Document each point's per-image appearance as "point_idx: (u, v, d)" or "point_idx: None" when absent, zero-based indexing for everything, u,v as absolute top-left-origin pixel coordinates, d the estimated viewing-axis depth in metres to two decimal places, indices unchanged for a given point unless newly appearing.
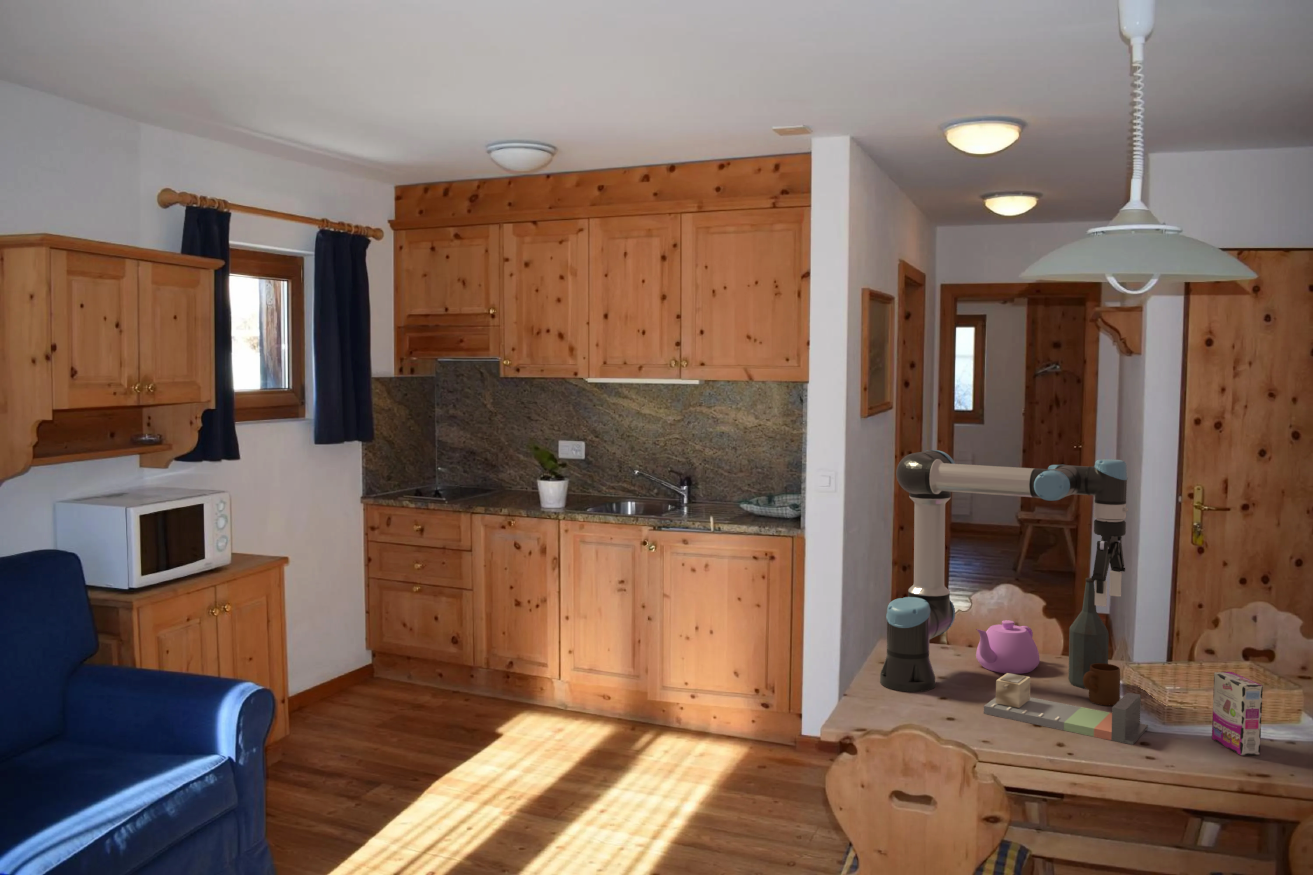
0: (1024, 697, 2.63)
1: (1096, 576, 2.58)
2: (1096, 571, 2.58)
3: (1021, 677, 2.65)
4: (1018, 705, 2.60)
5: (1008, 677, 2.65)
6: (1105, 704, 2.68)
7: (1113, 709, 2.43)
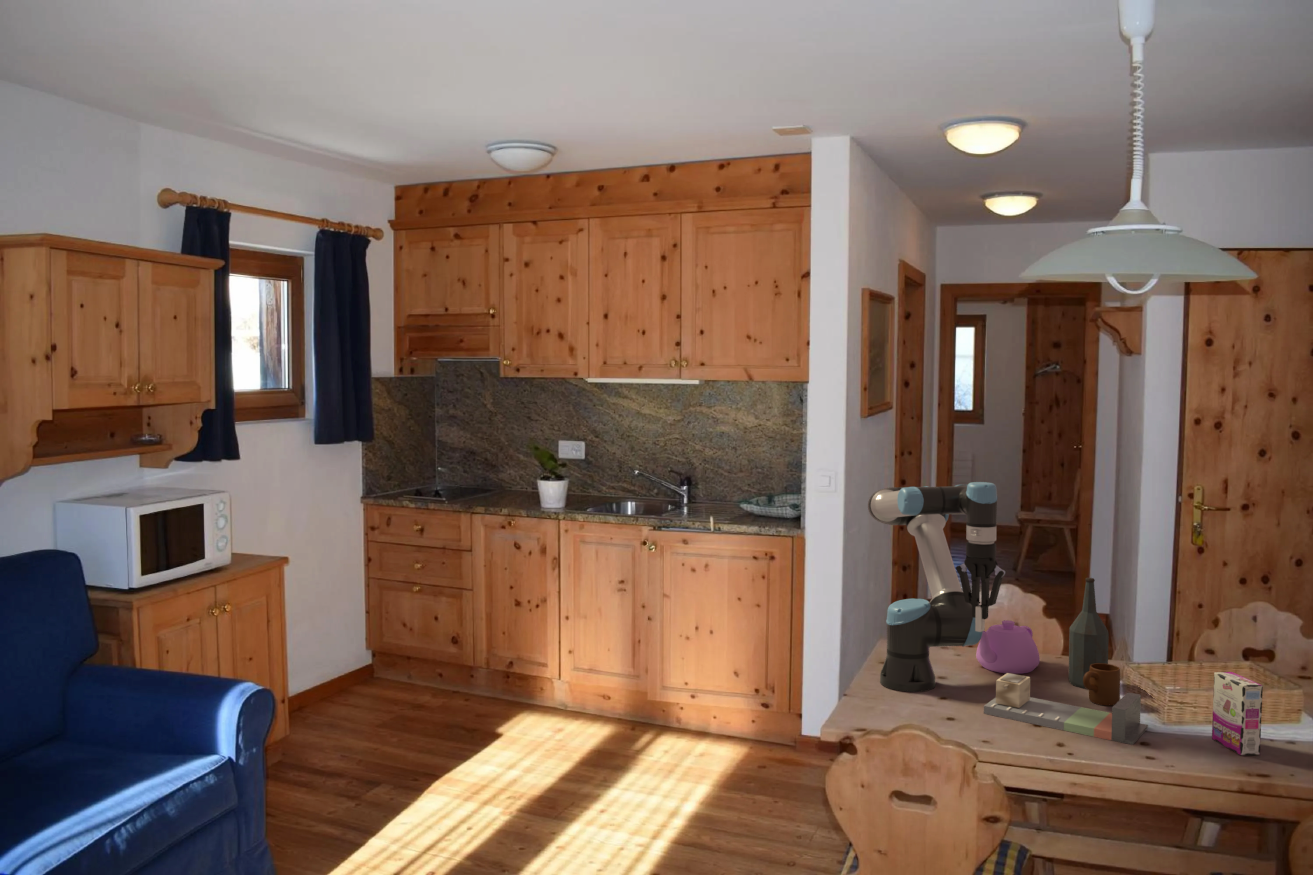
0: (1024, 697, 2.63)
1: None
2: None
3: (1021, 677, 2.65)
4: (1018, 705, 2.60)
5: (1008, 677, 2.65)
6: (1105, 704, 2.68)
7: (1113, 709, 2.43)
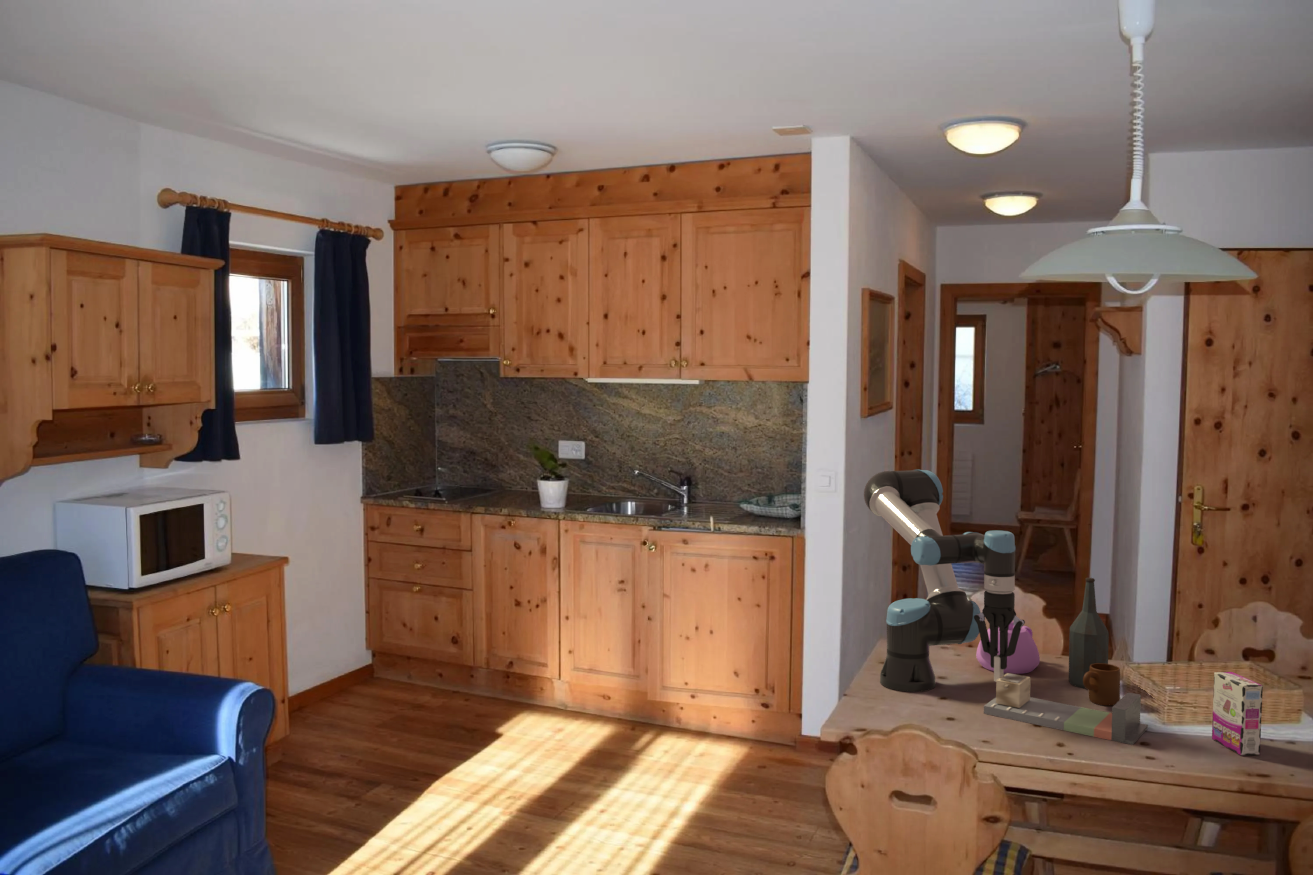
0: (1024, 697, 2.63)
1: None
2: None
3: (1021, 677, 2.65)
4: (1018, 705, 2.60)
5: (1009, 677, 2.65)
6: (1105, 704, 2.68)
7: (1113, 709, 2.43)
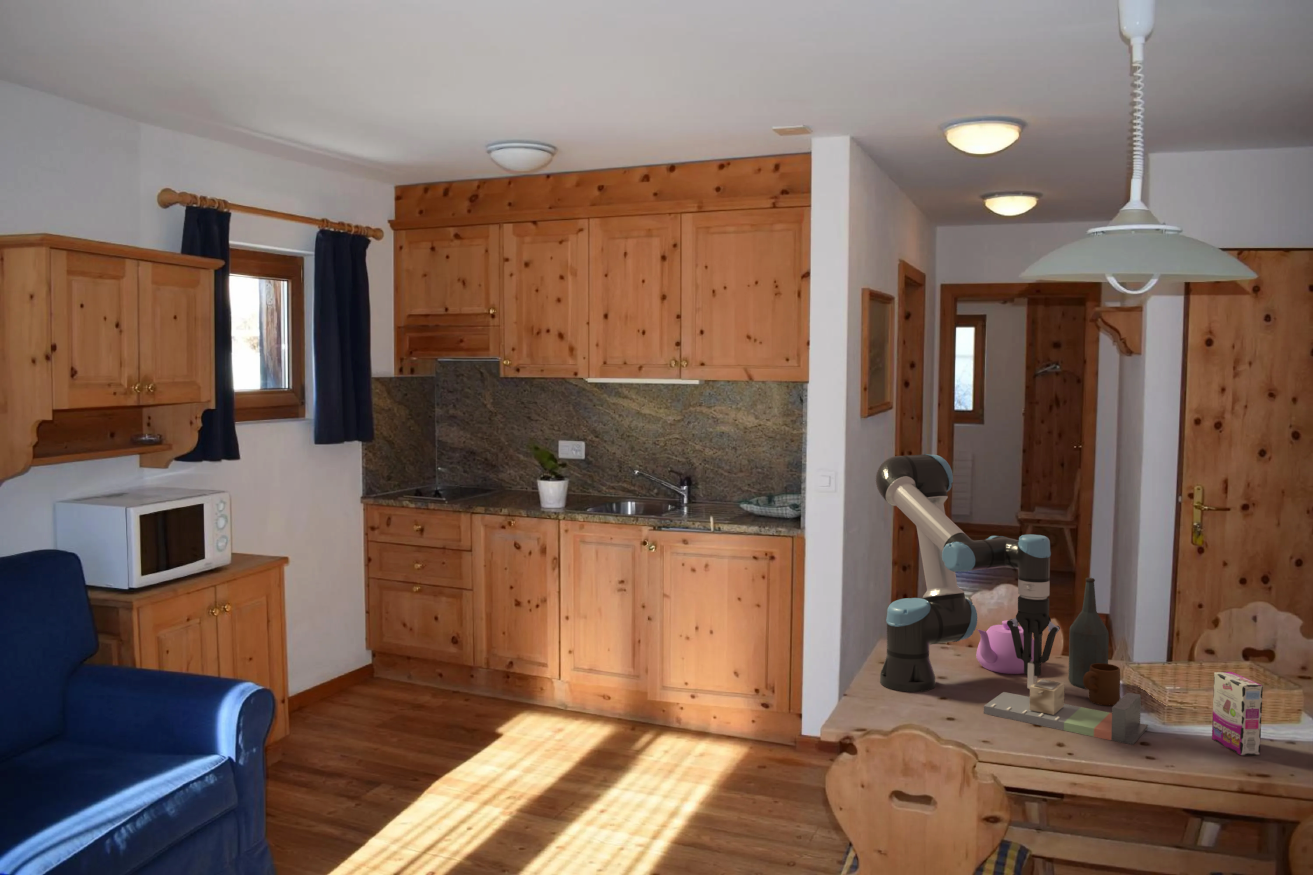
0: (1058, 703, 2.58)
1: None
2: None
3: (1055, 683, 2.60)
4: (1053, 712, 2.55)
5: (1042, 684, 2.60)
6: (1105, 704, 2.68)
7: (1113, 709, 2.43)
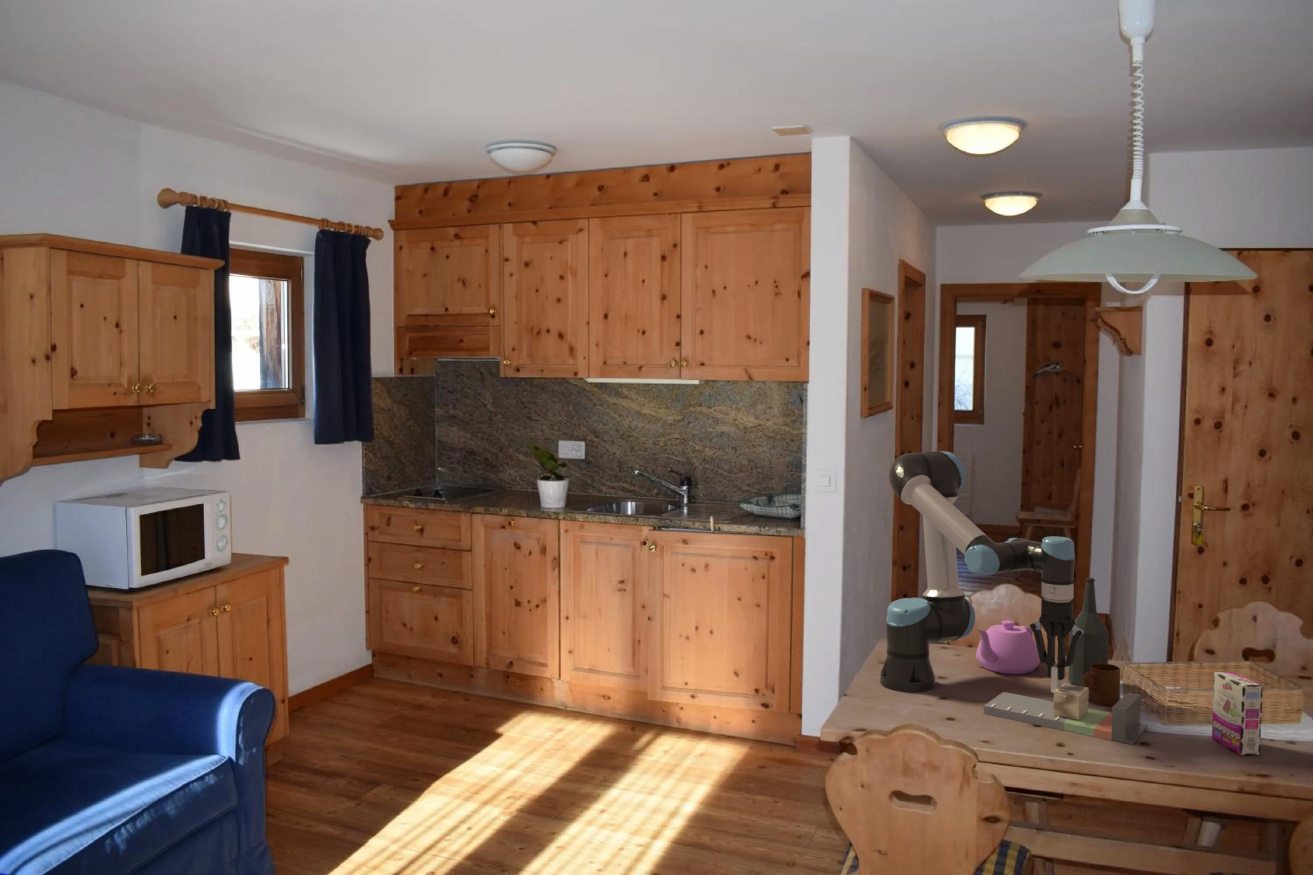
0: (1083, 708, 2.54)
1: None
2: None
3: (1079, 688, 2.56)
4: (1077, 717, 2.51)
5: (1066, 688, 2.56)
6: (1105, 704, 2.68)
7: (1113, 709, 2.43)
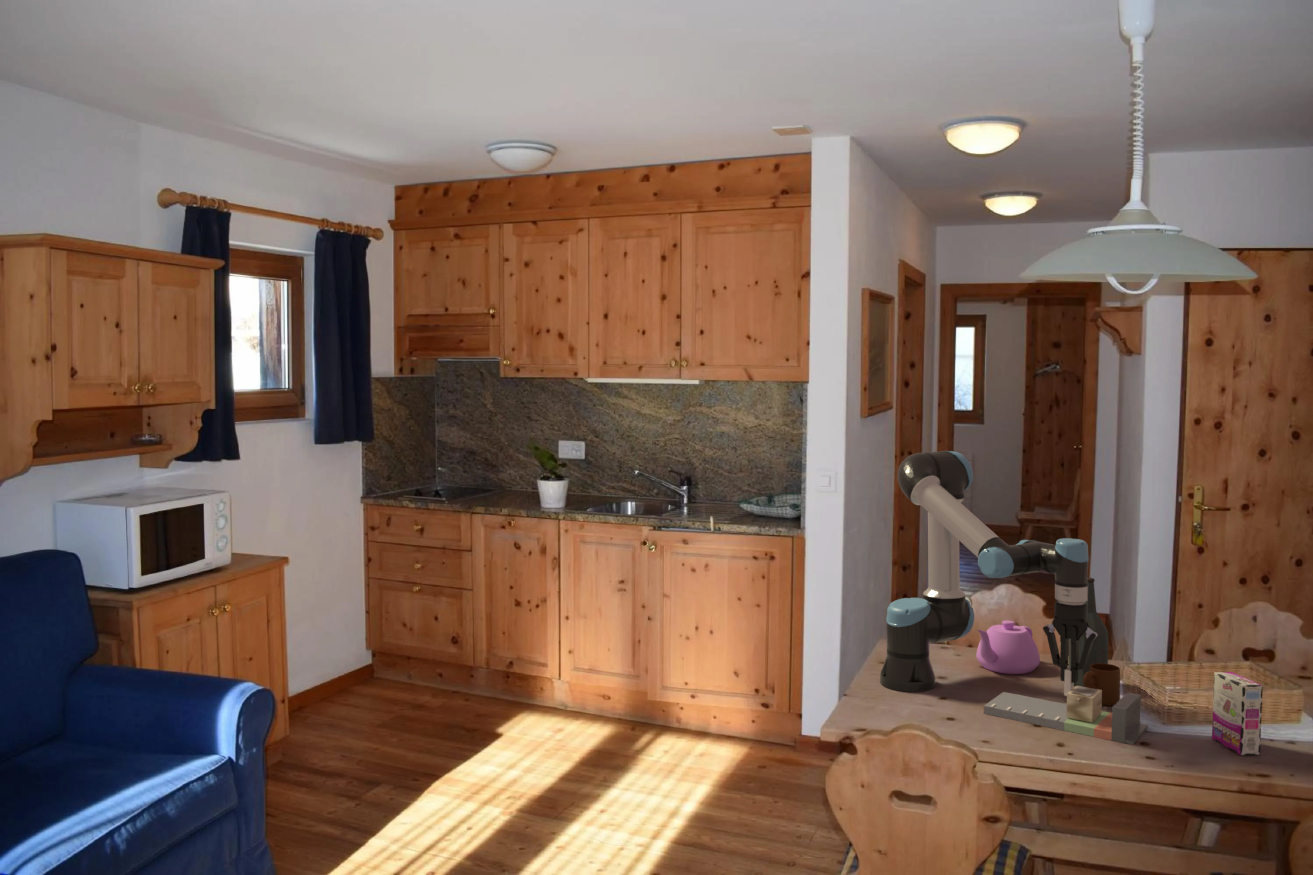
0: (1096, 711, 2.52)
1: None
2: None
3: (1093, 690, 2.54)
4: (1091, 720, 2.49)
5: (1080, 690, 2.54)
6: (1105, 704, 2.68)
7: (1113, 709, 2.43)
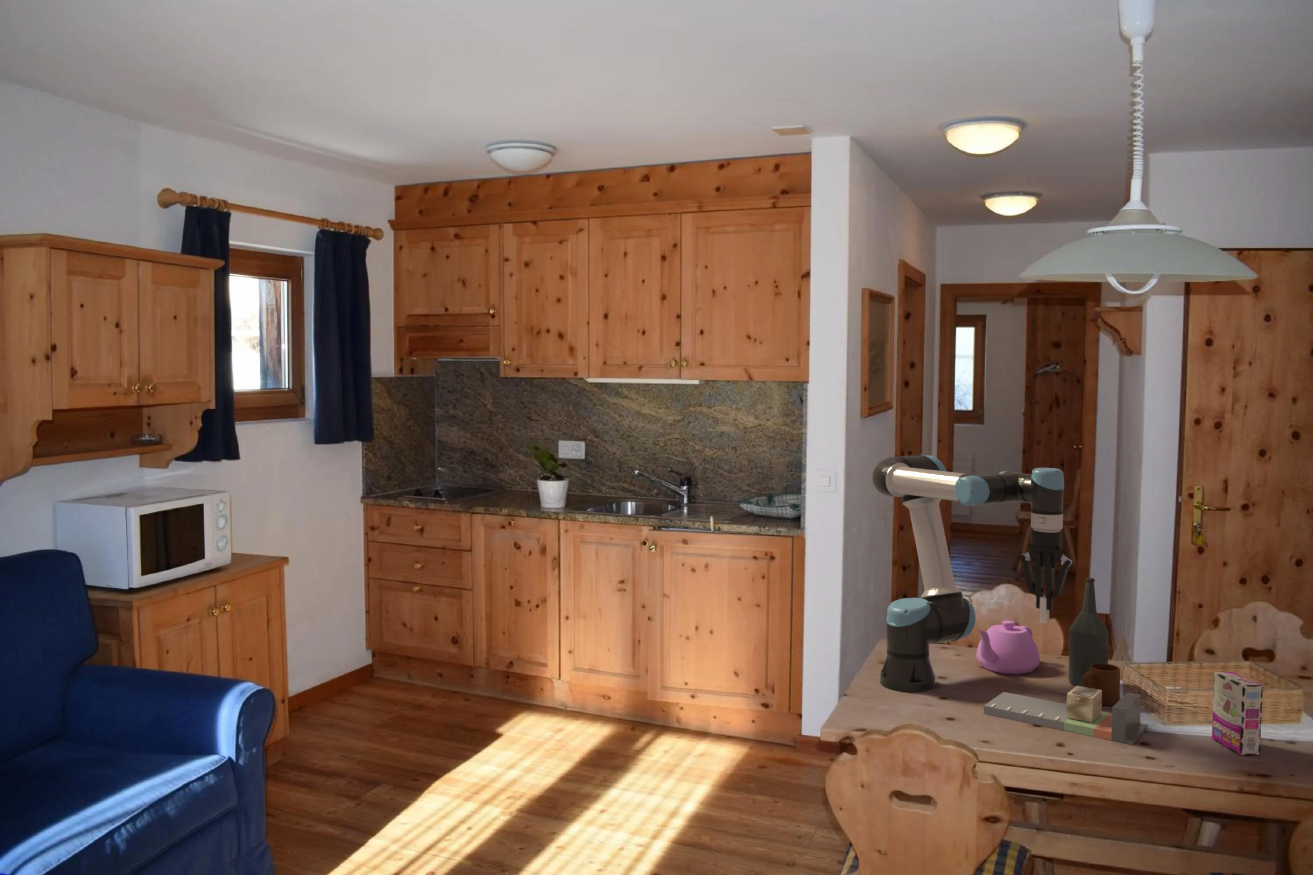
0: (1096, 711, 2.52)
1: None
2: None
3: (1093, 690, 2.54)
4: (1091, 720, 2.49)
5: (1080, 690, 2.54)
6: (1105, 704, 2.68)
7: (1113, 709, 2.43)
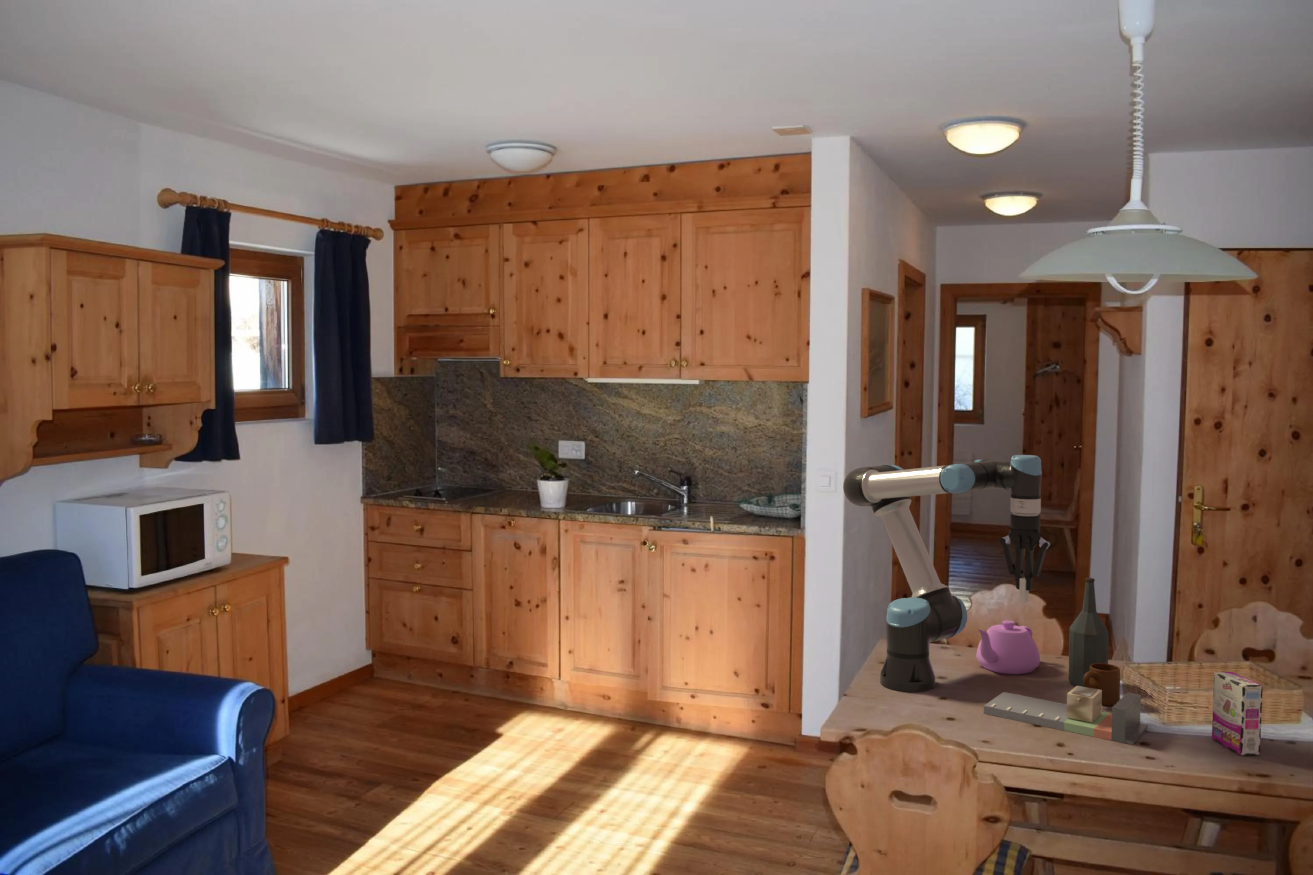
0: (1096, 711, 2.52)
1: None
2: None
3: (1093, 690, 2.54)
4: (1091, 720, 2.49)
5: (1080, 690, 2.54)
6: (1105, 704, 2.68)
7: (1113, 709, 2.43)
